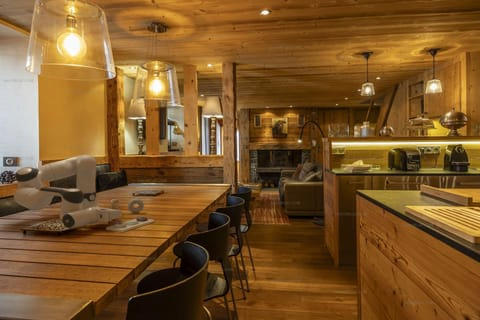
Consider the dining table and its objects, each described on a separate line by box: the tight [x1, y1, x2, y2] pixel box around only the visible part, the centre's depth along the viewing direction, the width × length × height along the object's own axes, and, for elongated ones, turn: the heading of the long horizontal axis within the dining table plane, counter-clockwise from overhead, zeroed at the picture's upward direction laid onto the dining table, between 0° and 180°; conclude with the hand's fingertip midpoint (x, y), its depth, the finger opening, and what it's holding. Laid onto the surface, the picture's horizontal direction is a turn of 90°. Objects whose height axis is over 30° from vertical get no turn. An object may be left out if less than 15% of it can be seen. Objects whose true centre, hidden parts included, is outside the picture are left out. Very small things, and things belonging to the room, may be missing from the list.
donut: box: [127, 197, 145, 214], centre depth 196 cm, size 10×4×10 cm, turn 104°
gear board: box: [105, 215, 156, 233], centre depth 165 cm, size 12×24×4 cm, turn 154°
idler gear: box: [107, 198, 123, 225], centre depth 170 cm, size 7×7×14 cm
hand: (116, 210), depth 171 cm, fingers closed on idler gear, 4 cm apart
